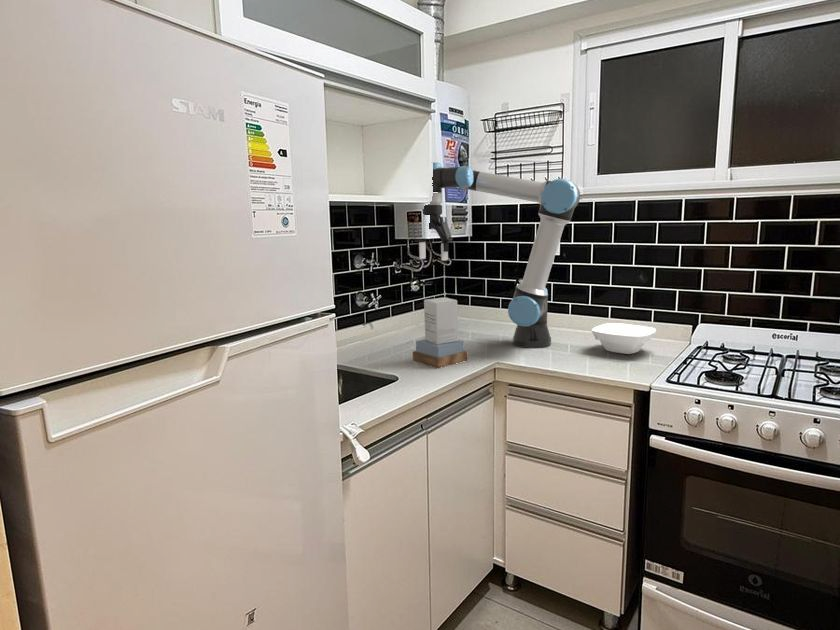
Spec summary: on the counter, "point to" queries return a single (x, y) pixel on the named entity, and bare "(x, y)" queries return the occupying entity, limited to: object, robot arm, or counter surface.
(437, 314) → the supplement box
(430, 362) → the tower base
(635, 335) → the bowl
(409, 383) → the counter surface
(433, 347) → the tower top
